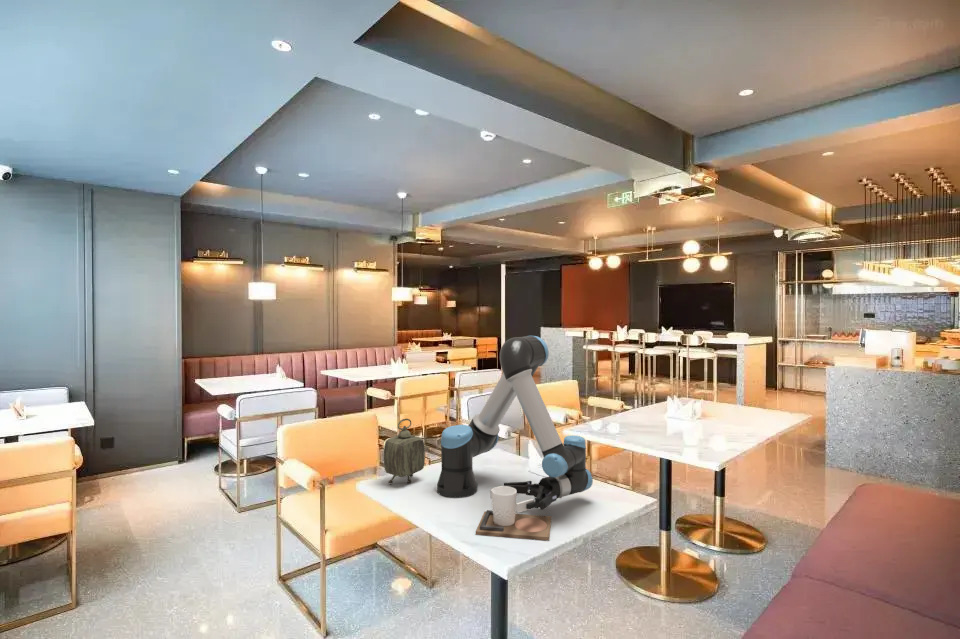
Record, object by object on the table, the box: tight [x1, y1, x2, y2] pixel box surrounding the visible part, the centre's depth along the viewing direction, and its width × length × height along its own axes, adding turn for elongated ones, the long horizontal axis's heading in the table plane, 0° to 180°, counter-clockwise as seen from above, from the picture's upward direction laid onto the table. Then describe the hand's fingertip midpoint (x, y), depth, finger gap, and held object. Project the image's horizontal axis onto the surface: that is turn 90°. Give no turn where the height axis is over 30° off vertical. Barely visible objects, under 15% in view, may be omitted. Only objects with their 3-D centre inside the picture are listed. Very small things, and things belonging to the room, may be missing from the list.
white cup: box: [491, 485, 518, 526], centre depth 158 cm, size 8×8×10 cm
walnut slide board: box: [475, 509, 552, 542], centre depth 156 cm, size 22×15×2 cm
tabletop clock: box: [383, 418, 426, 484], centre depth 196 cm, size 14×9×25 cm, turn 140°
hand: (503, 501), depth 157 cm, fingers open, 13 cm apart
